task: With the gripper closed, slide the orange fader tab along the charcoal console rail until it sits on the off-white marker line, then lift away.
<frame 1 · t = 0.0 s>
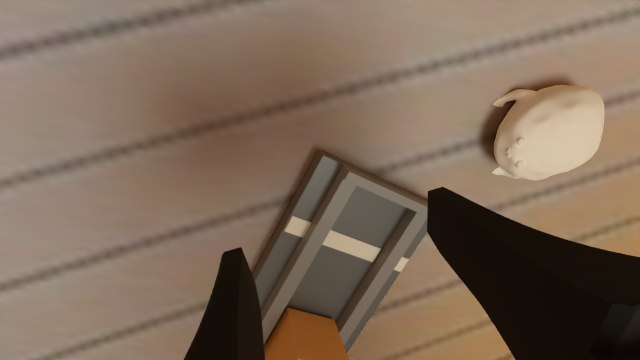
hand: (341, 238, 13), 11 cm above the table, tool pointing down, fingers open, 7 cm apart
fader tab: (304, 359, 25), point 4 cm above the table, slide at -4.0 cm
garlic: (524, 128, 27), on the table
fader console: (319, 279, 27), on the table
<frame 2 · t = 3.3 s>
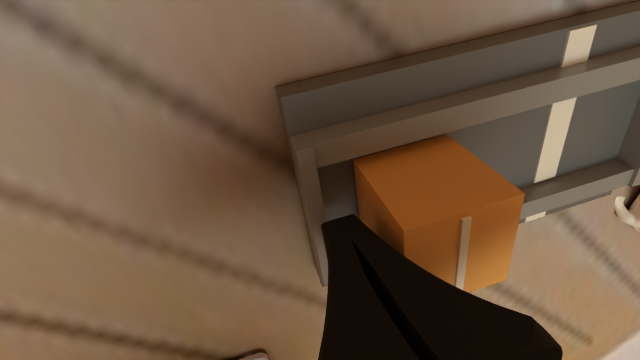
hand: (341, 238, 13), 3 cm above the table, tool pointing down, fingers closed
fader tab: (427, 218, 14), point 4 cm above the table, slide at -3.8 cm, touching gripper
fader console: (460, 148, 17), on the table
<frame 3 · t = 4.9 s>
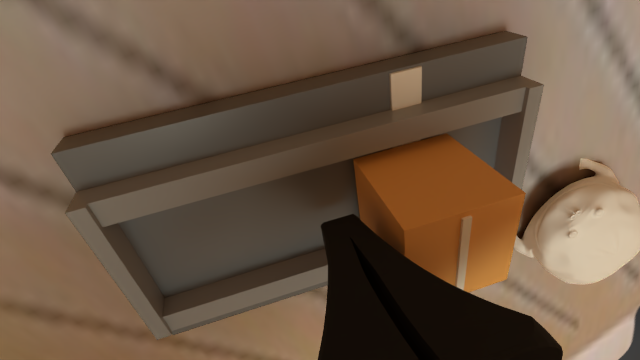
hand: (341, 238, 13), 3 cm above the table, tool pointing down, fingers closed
fader tab: (428, 218, 14), point 4 cm above the table, slide at 3.6 cm, touching gripper
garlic: (556, 210, 22), on the table
fader console: (312, 190, 16), on the table
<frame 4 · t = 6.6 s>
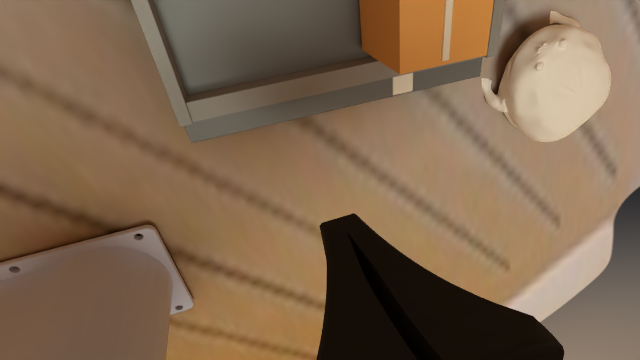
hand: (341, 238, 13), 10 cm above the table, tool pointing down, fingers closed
fader tab: (420, 6, 16), point 4 cm above the table, slide at 3.7 cm
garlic: (529, 74, 24), on the table
fader console: (318, 9, 18), on the table
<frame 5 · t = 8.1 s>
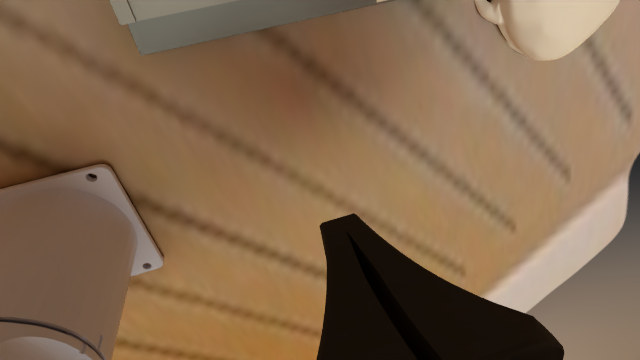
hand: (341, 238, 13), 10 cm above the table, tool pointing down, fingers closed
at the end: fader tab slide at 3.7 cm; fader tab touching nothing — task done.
